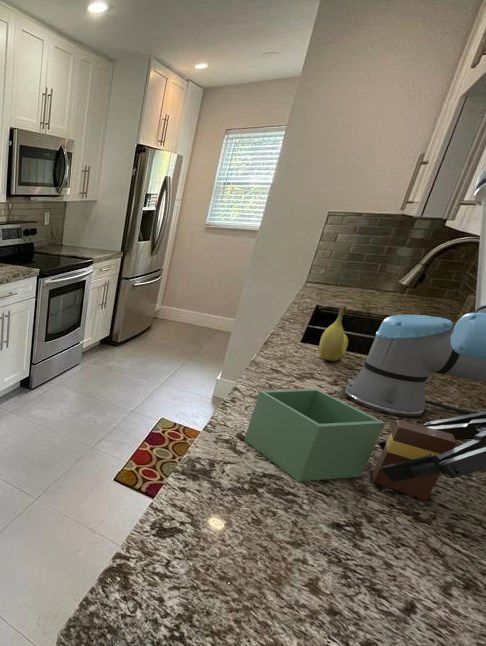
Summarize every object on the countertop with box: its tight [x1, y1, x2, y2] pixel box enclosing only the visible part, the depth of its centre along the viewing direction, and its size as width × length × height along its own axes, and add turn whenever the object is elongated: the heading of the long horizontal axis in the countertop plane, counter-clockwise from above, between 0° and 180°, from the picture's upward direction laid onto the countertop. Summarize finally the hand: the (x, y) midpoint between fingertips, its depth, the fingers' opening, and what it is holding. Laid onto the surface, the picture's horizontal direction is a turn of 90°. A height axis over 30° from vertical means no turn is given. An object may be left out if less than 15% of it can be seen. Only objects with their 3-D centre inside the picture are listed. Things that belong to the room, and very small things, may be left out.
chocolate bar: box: [371, 419, 458, 501], centre depth 73 cm, size 4×7×12 cm, turn 50°
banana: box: [318, 305, 349, 362], centre depth 132 cm, size 23×6×20 cm, turn 130°
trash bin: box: [243, 388, 386, 482], centre depth 81 cm, size 14×14×12 cm
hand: (384, 460), depth 76 cm, fingers open, 10 cm apart
